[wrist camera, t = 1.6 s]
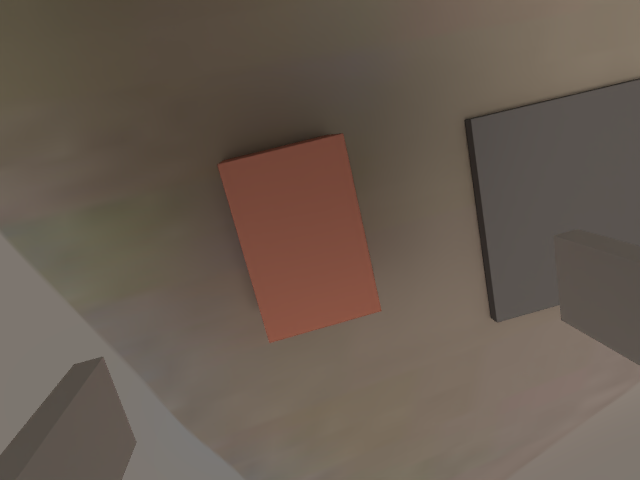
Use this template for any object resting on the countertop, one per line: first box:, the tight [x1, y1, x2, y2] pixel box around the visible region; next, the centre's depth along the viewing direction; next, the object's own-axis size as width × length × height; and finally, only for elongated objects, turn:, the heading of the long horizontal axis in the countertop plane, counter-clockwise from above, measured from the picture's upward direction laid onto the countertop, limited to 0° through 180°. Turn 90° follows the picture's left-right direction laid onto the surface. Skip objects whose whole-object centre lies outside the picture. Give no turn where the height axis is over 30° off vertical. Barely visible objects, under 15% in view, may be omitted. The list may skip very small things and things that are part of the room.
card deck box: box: [217, 134, 381, 343], centre depth 25 cm, size 10×6×5 cm, turn 13°
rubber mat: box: [465, 79, 640, 322], centre depth 30 cm, size 14×18×1 cm
